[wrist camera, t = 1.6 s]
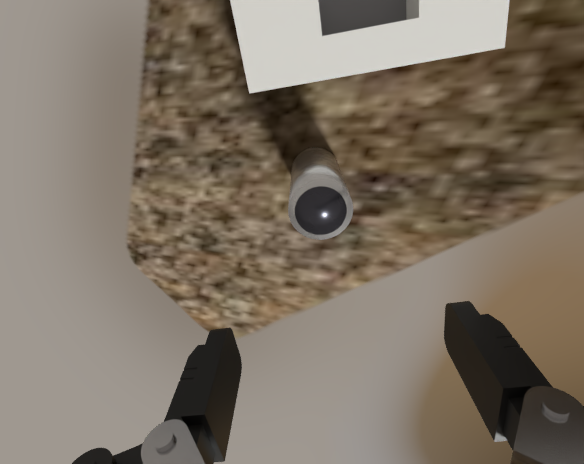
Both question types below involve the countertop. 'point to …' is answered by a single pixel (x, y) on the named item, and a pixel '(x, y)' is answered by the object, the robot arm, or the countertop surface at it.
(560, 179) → the countertop surface
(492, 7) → the white slotted plate
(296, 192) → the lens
